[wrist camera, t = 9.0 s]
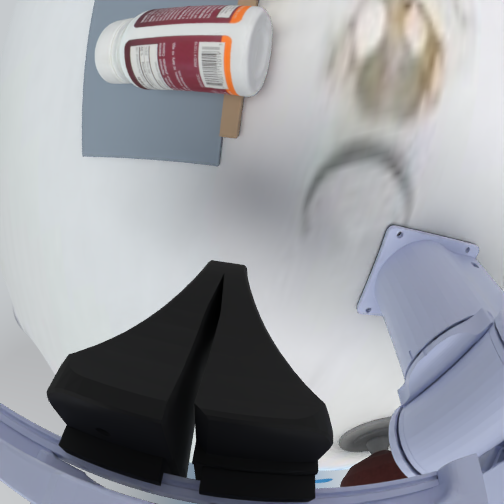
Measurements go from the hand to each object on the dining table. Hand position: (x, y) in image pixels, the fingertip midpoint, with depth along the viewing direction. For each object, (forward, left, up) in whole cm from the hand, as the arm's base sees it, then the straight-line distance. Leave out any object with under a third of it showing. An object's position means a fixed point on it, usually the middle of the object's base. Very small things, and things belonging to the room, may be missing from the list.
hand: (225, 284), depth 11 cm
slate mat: (+7, -9, -9) cm, 15 cm away
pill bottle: (0, -9, -5) cm, 10 cm away
